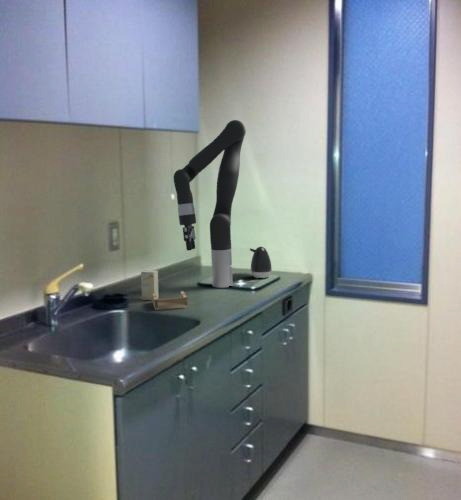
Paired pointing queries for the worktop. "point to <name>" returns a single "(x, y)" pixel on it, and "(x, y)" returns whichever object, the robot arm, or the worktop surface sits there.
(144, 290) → the skincare box
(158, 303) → the brown wooden tray
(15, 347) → the worktop surface
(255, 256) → the pump dispenser
